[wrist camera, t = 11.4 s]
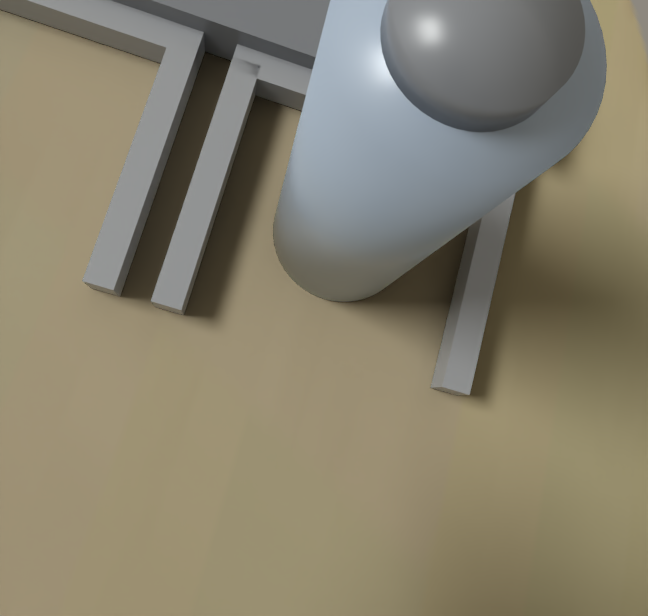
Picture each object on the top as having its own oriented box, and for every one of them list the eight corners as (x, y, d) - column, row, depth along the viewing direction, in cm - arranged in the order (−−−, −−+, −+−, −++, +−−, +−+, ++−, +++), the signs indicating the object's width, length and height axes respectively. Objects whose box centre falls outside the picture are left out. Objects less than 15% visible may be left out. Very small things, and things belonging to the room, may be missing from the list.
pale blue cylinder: (298, 319, 21) (398, 202, 9) (254, 187, 22) (292, -100, 9) (427, 279, 22) (680, 122, 10) (383, 153, 23) (571, -148, 10)
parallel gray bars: (-236, 192, 19) (-294, 165, 17) (-72, -152, 22) (-104, -212, 20) (467, 398, 22) (493, 398, 20) (541, 69, 24) (571, 37, 22)
